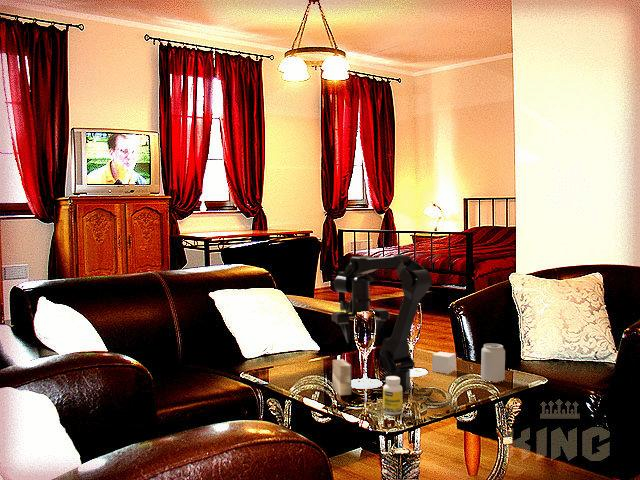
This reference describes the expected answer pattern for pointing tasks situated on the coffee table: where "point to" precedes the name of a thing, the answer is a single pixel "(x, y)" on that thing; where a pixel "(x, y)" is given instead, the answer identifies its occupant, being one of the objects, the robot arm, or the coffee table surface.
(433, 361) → the white cube
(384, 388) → the supplement bottle
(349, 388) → the tile
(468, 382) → the coffee table surface
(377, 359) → the coffee table surface
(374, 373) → the coffee table surface
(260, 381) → the coffee table surface
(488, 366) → the can
